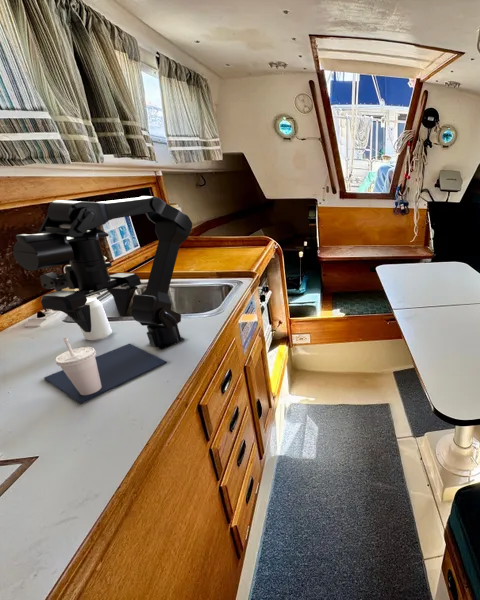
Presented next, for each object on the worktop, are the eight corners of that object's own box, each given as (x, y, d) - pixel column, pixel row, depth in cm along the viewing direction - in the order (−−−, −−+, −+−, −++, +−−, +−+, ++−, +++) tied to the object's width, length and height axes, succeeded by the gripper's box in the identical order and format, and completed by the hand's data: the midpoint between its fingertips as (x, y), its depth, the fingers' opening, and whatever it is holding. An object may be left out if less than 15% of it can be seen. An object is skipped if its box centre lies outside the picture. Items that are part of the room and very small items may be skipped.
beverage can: (109, 329, 100) (95, 294, 95) (116, 336, 97) (102, 299, 92) (82, 337, 95) (67, 300, 90) (89, 344, 92) (73, 306, 87)
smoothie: (63, 399, 71) (36, 344, 65) (88, 380, 77) (66, 329, 71) (93, 399, 71) (69, 345, 65) (116, 381, 77) (95, 329, 71)
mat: (130, 344, 92) (129, 343, 92) (167, 362, 85) (166, 361, 85) (44, 379, 78) (43, 377, 77) (80, 404, 70) (79, 402, 70)
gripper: (91, 249, 80) (108, 307, 86) (1, 268, 63) (30, 339, 68) (135, 252, 80) (149, 310, 85) (56, 271, 63) (80, 342, 68)
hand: (106, 323), depth 77 cm, fingers open, 9 cm apart
